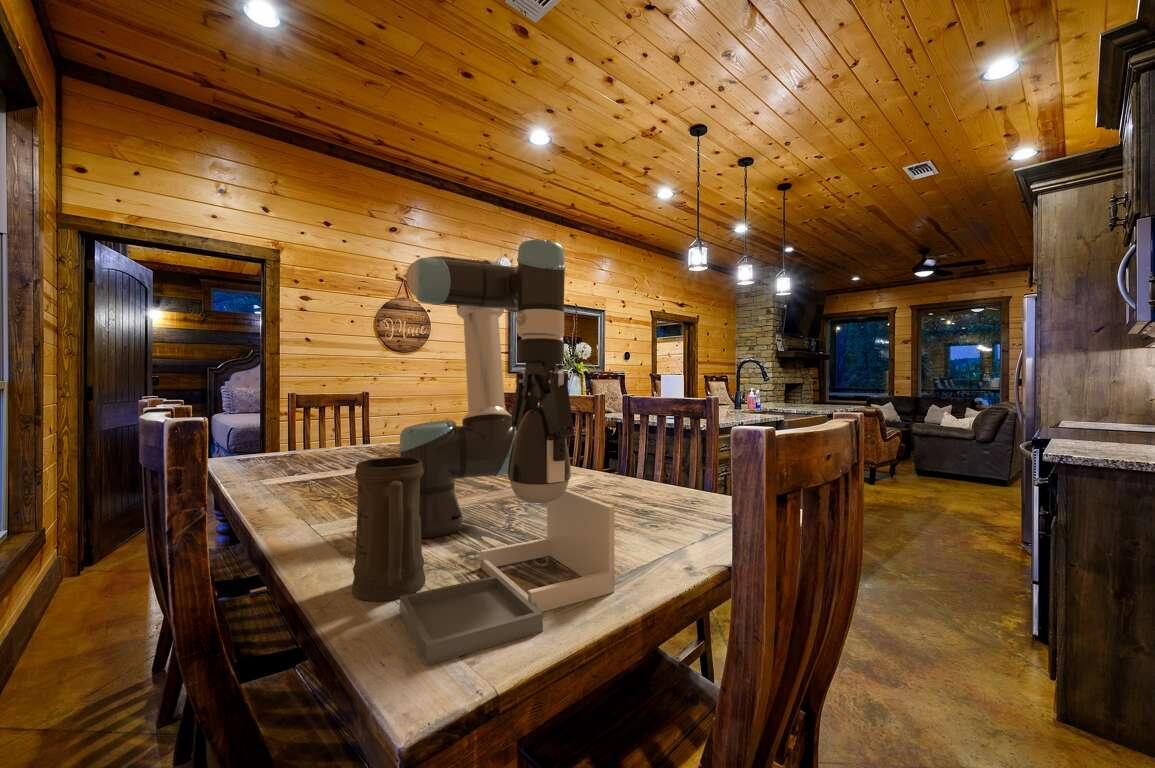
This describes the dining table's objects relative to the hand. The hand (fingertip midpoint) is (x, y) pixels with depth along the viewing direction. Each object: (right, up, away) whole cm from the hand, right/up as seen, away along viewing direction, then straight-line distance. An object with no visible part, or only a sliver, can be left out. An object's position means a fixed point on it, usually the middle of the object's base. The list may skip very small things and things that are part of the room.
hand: (539, 475), depth 78 cm
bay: (+1, -17, 0) cm, 17 cm away
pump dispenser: (0, -4, 0) cm, 4 cm away
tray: (-8, -17, -14) cm, 24 cm away
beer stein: (-22, -17, -5) cm, 28 cm away
